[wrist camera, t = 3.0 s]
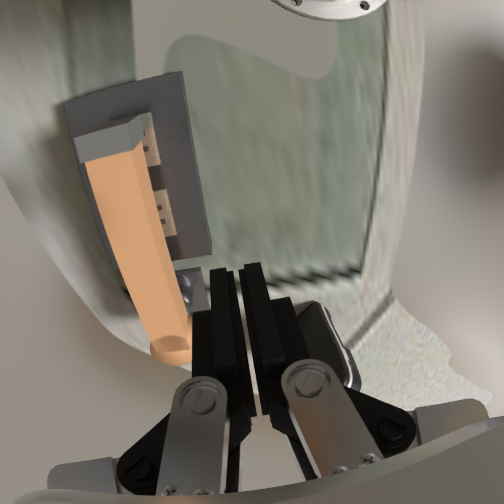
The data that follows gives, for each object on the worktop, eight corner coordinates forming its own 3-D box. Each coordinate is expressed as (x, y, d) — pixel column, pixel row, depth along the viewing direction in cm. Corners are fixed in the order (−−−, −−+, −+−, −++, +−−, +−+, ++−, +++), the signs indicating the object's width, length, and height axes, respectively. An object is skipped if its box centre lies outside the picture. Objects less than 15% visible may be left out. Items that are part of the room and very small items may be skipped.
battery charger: (294, 346, 38) (316, 426, 28) (272, 334, 36) (292, 420, 27) (337, 311, 36) (373, 392, 26) (316, 297, 34) (351, 382, 24)
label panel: (182, 71, 21) (179, 71, 19) (211, 242, 29) (212, 256, 27) (73, 99, 20) (61, 103, 18) (118, 257, 28) (113, 271, 26)
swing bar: (144, 113, 18) (132, 121, 15) (200, 336, 29) (201, 364, 26) (88, 127, 18) (69, 139, 15) (160, 341, 29) (158, 369, 26)
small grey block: (200, 267, 30) (200, 294, 27) (211, 313, 33) (213, 341, 30) (140, 276, 30) (133, 303, 26) (157, 320, 33) (154, 348, 30)
